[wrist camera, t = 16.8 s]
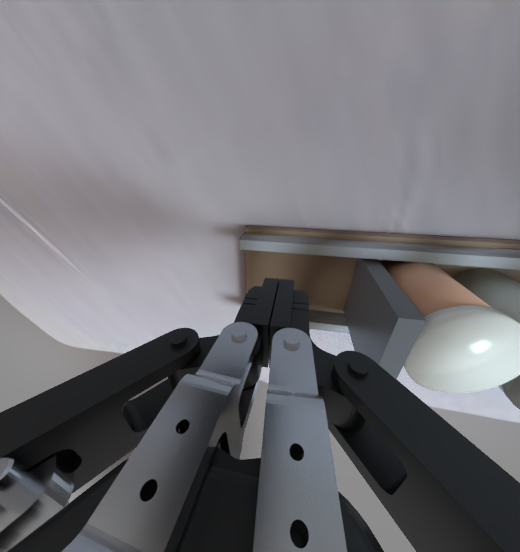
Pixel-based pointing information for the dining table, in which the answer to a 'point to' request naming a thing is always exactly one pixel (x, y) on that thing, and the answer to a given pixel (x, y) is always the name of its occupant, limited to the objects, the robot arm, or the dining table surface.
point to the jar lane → (343, 257)
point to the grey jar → (496, 306)
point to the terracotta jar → (456, 333)
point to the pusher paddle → (381, 316)
